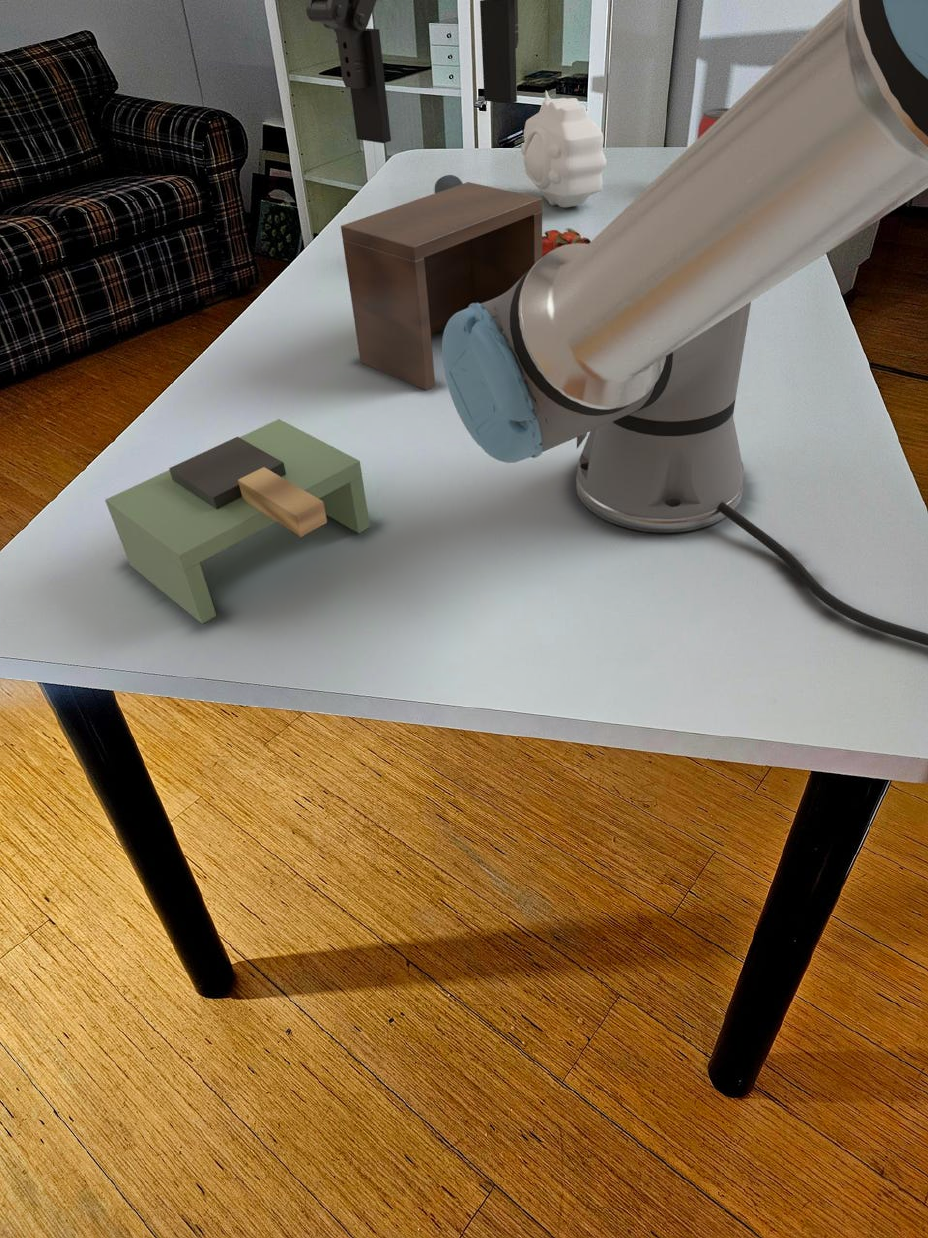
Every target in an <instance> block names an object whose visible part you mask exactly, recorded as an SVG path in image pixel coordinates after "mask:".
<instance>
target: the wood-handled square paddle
mask: <svg viewBox="0 0 928 1238" xmlns="http://www.w3.org/2000/svg"><path fill="white" fill-rule="evenodd" d="M239 437H240V436H235V437H233V438H232V439H229V440H226V441H225V442H223V443H221V444H218V445H216V446H214V447H211V448H210V449H207V450H206V451H204V452H200V453H199V454H197V455H194V456H192V457H191V458H188V459H186V460H184V461H181V462H180V463H177V464H175V465H173V466H171V467H169V468H168V470H170V473H171V476H172V479H173V481H175V482H176V483H178V484H179V485H181V486H182V487H184V488H185V489H187V490H188V491H190V492H191V493H193V494H194V495H196V496H197V497H199V498H200V499H202V500H204V501H205V502H207V503H208V504H210V505H211V506H213V507H214V508H216V509H219V508H221V507H223V506H225V505H227V504H229V503H231V502H233V501H235V500H237V499H239V498H241V497H242V498H243V500H244V501H245V502H247V503H248V504H250V505H251V506H253V507H255V508H256V509H258V510H259V511H261V512H263V513H264V514H266V515H267V516H269V517H270V518H272V519H274V520H275V521H276V522H277V523H278V524H280V525H282V526H283V527H284V528H286V529H288V530H289V531H291V532H293V533H295V534H296V535H297V536H298V537H300V538H302V537H304V536H306V535H307V534H310V533H311V532H313V531H314V530H316V529H318V528H320V527H321V526H324V525H325V524H327V523H328V519H327V514H325V508H324V503H323V501H322V500H320V499H318V498H316V497H315V496H313V495H311V494H309V493H308V492H306V491H304V490H303V489H301V488H299V487H297V486H296V485H294V484H292V483H291V482H289V481H287V480H285V479H284V478H282V476H284V475H286V471H285V467H284V463H283V462H282V461H280V460H278V459H277V458H275V457H273V456H271V455H269V454H268V453H266V452H264V451H262V450H261V449H259V448H257V447H255V446H253V445H252V444H250V443H248V442H246V441H245V440H243V439H241V438H239Z"/></svg>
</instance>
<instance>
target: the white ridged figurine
mask: <svg viewBox="0 0 928 1238" xmlns="http://www.w3.org/2000/svg"><path fill="white" fill-rule="evenodd" d="M544 94H545V95H544V97H545V98H544V100H543V101H542V103H541V106H540V109H539V111H538V112H537V113H536V114H534V115H532V116H531V117H530V118H528V119H526V121H525V123H524V128H523V143H522V144H521V145H520V152H521V154H522V155H523V165H524V170H525V174H526V176H527V177H528V178H529V179H530V181H531V182H532V183H533V184H534V186H535V187H536V188H537V190H538V191H539V192H540V194H542V196H543V197H544V198H545V199H546V200H547V201H548V203H549V204H550V205H551V206H559V208H571V207H576V206H581V205H584V203H585V202H586V200H587V199H588V198H590V196H592V195H594V194H597V193H598V192H600V191H602V189H603V172H604V171H605V170H604V169H605V168H606V165H607V158H606V156H605V153H604V149H603V148H604V147H603V146H604V134H603V132H602V130H601V129H600V128H599V127H598V126H597V124H596V123H595V122H594V121H593V120H592V119H591V117H590V116H589V113H588V110H587V107H586V106H585V104H580V103H579V100H578V98H575V97H569V98H567V97H566V98H565V97H560V98H553V99H552V98H551V97H550V96H549V92H548V90H545V93H544Z"/></svg>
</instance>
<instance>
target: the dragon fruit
mask: <svg viewBox="0 0 928 1238" xmlns="http://www.w3.org/2000/svg"><path fill="white" fill-rule="evenodd" d="M565 230H566V231H564V232H561V231H559V230H557V229H551V230H546V231H544V235H542V257H543V256H545V255H546V254H547V253H549V252H550V251H552V250H554V249H556V248H558V247H561V246H563V245H568V244H574V243H581V244H589V243H590V242H591V241H592V240H590V238H587V237H585V236H583V237H582V236H581V234H580V233H578V232H577V230H574V229H573V228H572V227H568V228H565Z"/></svg>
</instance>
